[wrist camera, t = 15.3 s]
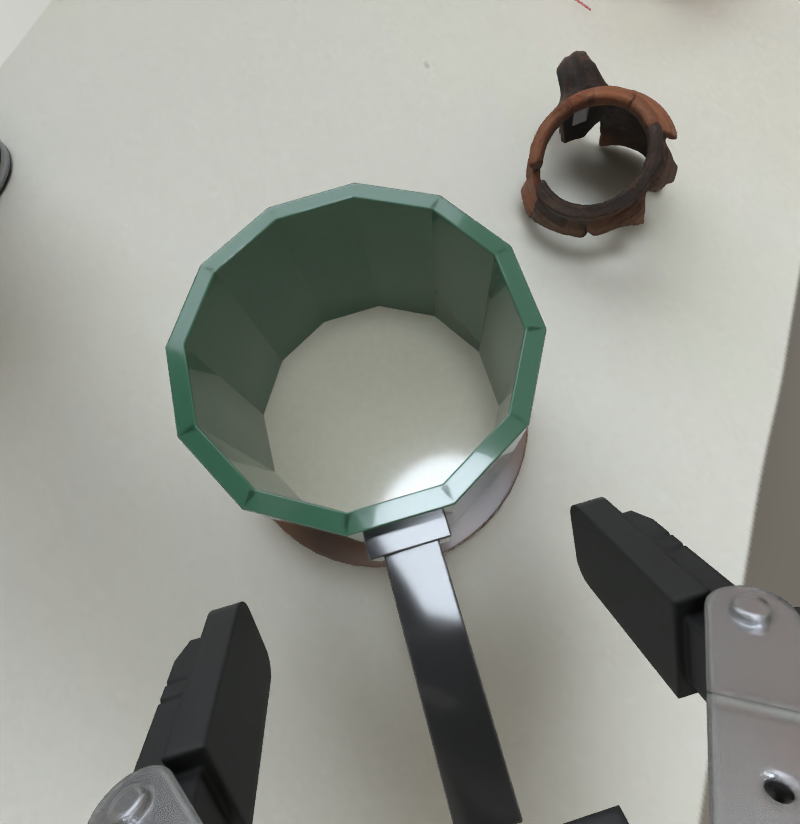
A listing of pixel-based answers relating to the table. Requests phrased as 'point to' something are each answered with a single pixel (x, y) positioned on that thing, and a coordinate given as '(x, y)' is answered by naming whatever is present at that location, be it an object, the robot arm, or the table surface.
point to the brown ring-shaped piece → (619, 125)
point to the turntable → (460, 530)
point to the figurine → (583, 4)
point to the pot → (371, 412)
